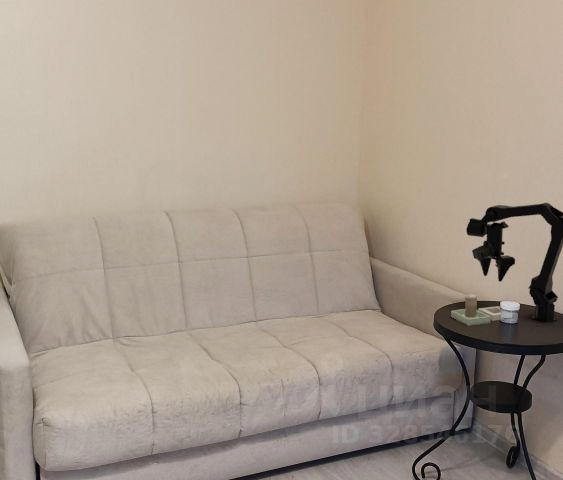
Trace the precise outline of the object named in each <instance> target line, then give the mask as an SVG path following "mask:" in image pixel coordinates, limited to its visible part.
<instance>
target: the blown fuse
mask: <svg viewBox="0 0 563 480" xmlns="http://www.w3.org/2000/svg"><path fill="white" fill-rule="evenodd" d="M464 301H465V303H464V309H465V317H466V318H468V319H472V318H476V310H478V309H477V304H478V303H477V302H478V294H476V293H466V294H465V300H464Z"/></svg>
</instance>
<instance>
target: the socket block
mask: <svg viewBox="0 0 563 480" xmlns="http://www.w3.org/2000/svg"><path fill="white" fill-rule="evenodd" d="M500 307H501V306H499V305H497V306H489V307H488V306H487V307H479V308H478V309H477V310H478V311H480V312H482V313H484V314H486V315H488V316H490V317H491V319H490V321H493V322H494V321H501V320H502V319H501V309H500Z"/></svg>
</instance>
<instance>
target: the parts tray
mask: <svg viewBox="0 0 563 480" xmlns="http://www.w3.org/2000/svg"><path fill="white" fill-rule="evenodd" d="M450 311H451V312H450V317H452V318H451V319H453V318H454V320H455V319H456V321H457V322H459V323H461V324H463V325H465V326H467V327H473V326H478V325H488V324H491V320H490V319H491V317H490V316H488V315H486V314H484V313H482V312H480V311H478V309H476V318H472V319H468V318H466V317H465V308H463V309H455V310H450Z"/></svg>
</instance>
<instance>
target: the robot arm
mask: <svg viewBox="0 0 563 480" xmlns="http://www.w3.org/2000/svg"><path fill="white" fill-rule="evenodd" d="M539 215H540V216H541V217H542V218H543V219H544V220H545V222H546V223H547V224H549V225H550V242H549V245H548V248H547V250H546V255H545V257H544V260H543V262H542V266H541V269H540V272H539V274H538V275H536V276H534V277H532V278H531V280H530V285H529V286H528V289H529V295H530V297H531V298H532V301H533V304H534V305H535V308H534V309H535V310H534V315H533V316H531V319H532V320H536V321H538V322H540V323H542V324H543V323H551V322H552V323H553V322H557V321H558V319H557V318H555V308H556V305H555V304H554V303H556V302H557V301H558V299H559V296H558V295H557V294H556V293H555V292H554V291H553V283H554V282H553V281H554V280H553V276H554V272H555V270H556V266H557V265H558V261H559V258H560V255H561V252H562V249H563V211H561V210H560V209H558V208H556V207H554V206H553V205H551V204H550V203H549V202H542V203H534V204H526V205H516V206H510V205H503V204H497V205H493V206H490V207H488V208H487V209H486V210H485V214H484V215H483V216H482V218H481V219H477V218H475V217H471V218H470V219H469V222H468V223H467V227H466V234H467V236H470V237H478V238H484V237H486V240H484V241H483V243H482V245H480V246H478V247H476V248H474V249H472V250H471V253H472V256H473V258H474V259H475V260H477V261H478V262H479V263H480V267H481V269H482V274H483V276H484V277H487V276H488V274H489V269H490V265H491V263H492V260H493V261H494V260H495V264H494V266H495V268H497V279H498V282H503V279H504V278H505V276H506V274H507V273H508V271H509V269H510V268H511V267H513V266H515V265H516V259H515V257H513V256H511V255H508V254H507V255H505V252H504V251H503V250H502V249H503V245H505V241H503V235H504V234H503V232H504V231H503V230H504V229H507V228H509V225H508V224H507V223H506V221H504V220H506V219H510V218H515V217H527V216H528V217H529V216H539ZM501 220H503V221H501ZM498 221H501V222H498Z"/></svg>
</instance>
